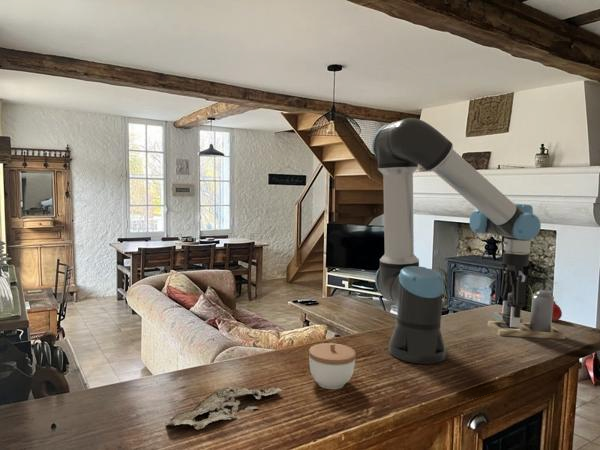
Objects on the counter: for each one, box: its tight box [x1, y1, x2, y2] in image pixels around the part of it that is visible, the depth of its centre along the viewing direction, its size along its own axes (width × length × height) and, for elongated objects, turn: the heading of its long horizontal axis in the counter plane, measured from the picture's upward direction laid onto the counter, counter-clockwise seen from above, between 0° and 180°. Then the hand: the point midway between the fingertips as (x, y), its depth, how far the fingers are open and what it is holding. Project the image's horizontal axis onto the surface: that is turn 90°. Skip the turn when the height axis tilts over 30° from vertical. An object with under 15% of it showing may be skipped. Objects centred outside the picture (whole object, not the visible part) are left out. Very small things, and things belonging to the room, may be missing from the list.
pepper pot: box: [529, 289, 555, 332], centre depth 145 cm, size 6×6×14 cm
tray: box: [487, 320, 566, 340], centre depth 145 cm, size 20×10×2 cm, turn 87°
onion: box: [552, 300, 563, 322], centre depth 160 cm, size 6×6×8 cm
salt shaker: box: [501, 292, 522, 329], centre depth 145 cm, size 6×6×12 cm
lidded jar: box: [308, 342, 357, 390], centre depth 104 cm, size 11×11×9 cm
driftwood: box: [165, 386, 284, 431], centre depth 90 cm, size 25×10×5 cm
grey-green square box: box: [493, 311, 523, 323], centre depth 157 cm, size 7×7×3 cm
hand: (510, 323), depth 145 cm, fingers closed on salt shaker, 6 cm apart
